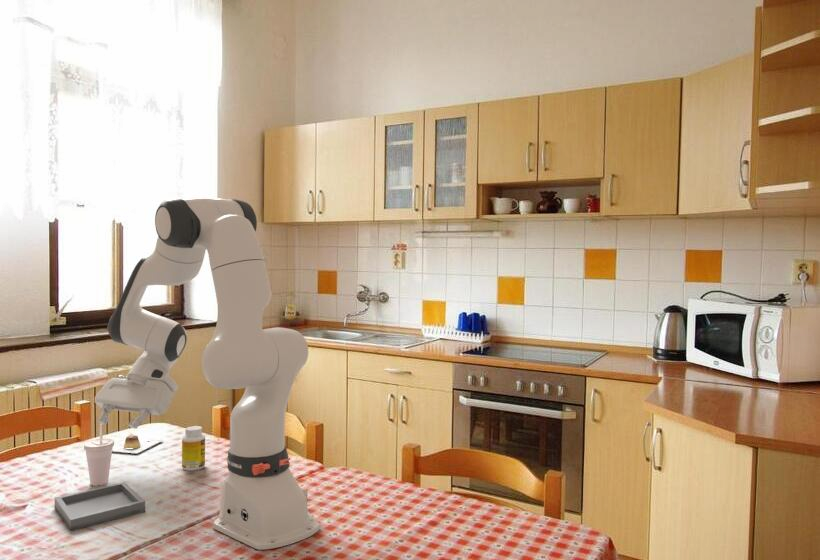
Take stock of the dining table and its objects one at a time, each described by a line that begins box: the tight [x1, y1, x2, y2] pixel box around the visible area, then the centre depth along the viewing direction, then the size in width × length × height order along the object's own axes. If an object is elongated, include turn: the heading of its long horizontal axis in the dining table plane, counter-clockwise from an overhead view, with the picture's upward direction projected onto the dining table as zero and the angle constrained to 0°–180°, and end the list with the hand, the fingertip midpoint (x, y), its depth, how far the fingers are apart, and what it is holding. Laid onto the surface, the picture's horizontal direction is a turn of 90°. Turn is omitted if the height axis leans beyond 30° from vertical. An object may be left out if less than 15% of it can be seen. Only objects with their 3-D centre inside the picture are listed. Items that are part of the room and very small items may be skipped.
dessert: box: [112, 431, 164, 455], centre depth 167 cm, size 12×12×5 cm
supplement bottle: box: [181, 425, 206, 472], centre depth 151 cm, size 6×6×10 cm
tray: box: [54, 481, 146, 532], centre depth 126 cm, size 14×14×2 cm
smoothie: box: [83, 423, 115, 487], centre depth 140 cm, size 6×6×14 cm
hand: (116, 425), depth 145 cm, fingers open, 8 cm apart
